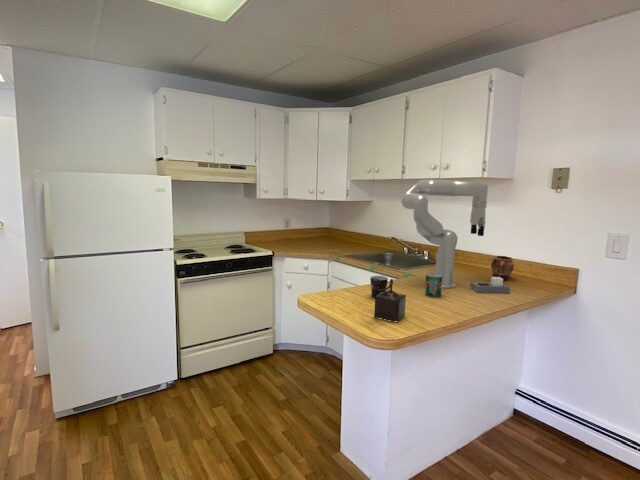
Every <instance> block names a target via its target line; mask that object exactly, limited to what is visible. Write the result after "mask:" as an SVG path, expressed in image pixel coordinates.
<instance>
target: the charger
mask: <svg viewBox="0 0 640 480" xmlns="http://www.w3.org/2000/svg"><path fill="white" fill-rule="evenodd" d="M490 283H491V285H492V286H503V284H504V280H503V279H502V278H500V277H492V276H491V277H490Z"/></svg>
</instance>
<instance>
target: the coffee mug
mask: <svg viewBox="0 0 640 480" xmlns="http://www.w3.org/2000/svg"><path fill="white" fill-rule="evenodd" d="M373 278H377V279H379V280H380V284H379V285H378V287H379V289H385V288H387V287H388V279H389V278H388V276H384V275H373V276H370V280H369V281H371V279H373ZM372 287H373V286H372V285H371V284H370V289H371V290H370V291H371V292H370V293H371V298H372V297H374V298H375V296H377V295H378V294H379V293H380V292H383V291H378V290H373V289H372ZM374 298H373V299H374Z"/></svg>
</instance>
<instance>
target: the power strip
mask: <svg viewBox="0 0 640 480" xmlns="http://www.w3.org/2000/svg"><path fill="white" fill-rule="evenodd" d="M469 285H470V287H469V288H470V290H471V291H473V292H474V293H476V294H499V293H500V294H501V293H502V294H504V295H507V294H509V295H510V294H511V293H510V292H511V287H510V286H509V285H506V284H505V283H503V286H492V285H491V282H481V281H479V282H475V281H473V282H472V281H470V283H469Z"/></svg>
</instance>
